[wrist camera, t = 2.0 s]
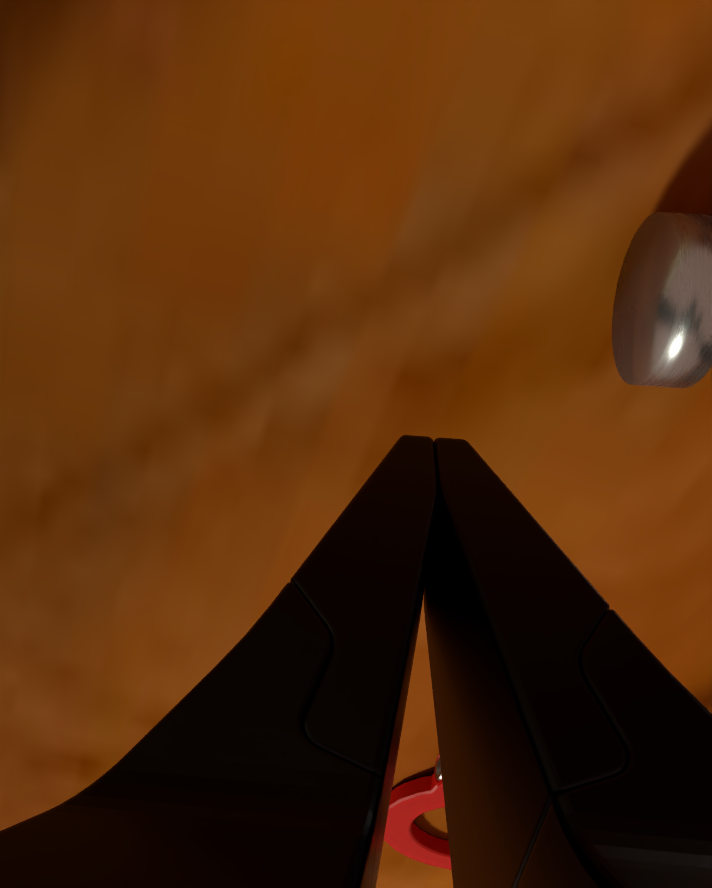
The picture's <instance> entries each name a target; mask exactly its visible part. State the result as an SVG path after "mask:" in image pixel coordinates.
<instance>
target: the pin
mask: <svg viewBox="0 0 712 888" xmlns="http://www.w3.org/2000/svg"><path fill="white" fill-rule="evenodd" d="M612 345H613V354H614V359H615V364H616V367H617V370H618V372H619V374H620V376H621V378H622V379H623V380H624V381H625V382H626V383H628V384H631V385H642V386H656V387H670V388H688V387H690V386H693V385H694V384H696V383H697V382H698V381H699V380H701V379H702V378H703V377H704V375H705V374H706V373H707V372H708V371H709V369H710V368H711V366H712V215H702V214H686V213H670V212H656V213H654V214H651V215H650V216H649V217H648V218H647V219H646V220H645V221H644V222H643V223H642V224H641V226H640V227H639V228H638V230H637V232H636V233H635V235H634V237H633V239H632V241H631V243H630V245H629V248H628V250H627V253H626V256H625V258H624V261H623V265H622V268H621V271H620V275H619V279H618V284H617V288H616V294H615V300H614V308H613V318H612Z"/></svg>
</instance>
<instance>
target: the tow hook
mask: <svg viewBox="0 0 712 888" xmlns="http://www.w3.org/2000/svg"><path fill="white" fill-rule="evenodd" d="M442 807H445V802H444V793H443V783H442V774H441V764H440V755H438V757H437V760H436V764H435V770H434V773H433V775H432V776H426V777H420V778H418V779H415V780H412V781H409V782H406V783H404V784H401V785H400V786H398V787H397V788H395V789H394V790H392V791H391V797H390V803H389V809H388V816H387V822H386V828H385V834H384V840H385V841H386V842H387V843H388V844H389V845H390V846H392V847H393V848H394V849H395V850H396V851H398V852H400V853H402V854H404V855H405V856H407V857H409V858H411V859H414V860H417V861H420V862H423V863H425V864H428V865H432V866H437V867H441V868H446V869H451V870H452V868H451V859H450V849H449V841H448V840H444V839H440V838H437V837H435V836H432V835H429V834H428V833H426V832H424V831H422V830H421V829H419V828H418V827H417V826H416V825H415V824H414V823H413V821H414V819H415V818H416V817H417V816H419V815H421V814H422V813H424V812H427V811H430V810H433V809H436V808H442Z"/></svg>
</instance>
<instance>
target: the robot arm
mask: <svg viewBox="0 0 712 888" xmlns="http://www.w3.org/2000/svg"><path fill="white" fill-rule="evenodd" d="M423 594H424V611H425V623H426V632H427V642H428V651H429V661H430V670H431V679H432V689H433V698H434V708H435V717H436V727H437V736H438V746H439V755H440V764H441V774H442V783H443V793H444V802H445V812H446V821H447V830H448V840H449V849H450V859H451V868H452V878H453V887H454V888H712V714H711V713H710V712H709V711H708V710H707V709H706V708H705V707H704V706H703V705H702V704H701V703H700V702H699V701H698V700H697V699H696V698H695V697H694V696H693V695H692V694H691V693H690V692H689V691H688V690H687V689H686V688H685V687H684V686H683V685H682V684H681V683H680V682H679V681H678V680H677V679H676V678H675V677H674V676H673V675H672V674H671V673H670V672H669V671H668V670H667V669H666V668H665V667H664V665H663V664H662V663H661V662H660V661H659V660H658V659H657V658H656V657H655V656H654V655H653V653H652V652H651V651H650V650H649V649H648V648H647V647H646V646H645V645H644V644H643V643H642V641H641V640H640V639H639V638H638V637H637V636H636V635H635V634H634V633H633V631H632V630H631V629H630V628H629V627H628V626H627V625H626V623H625V622H624V621H623V620H622V619H621V618H620V616H619V615H618V614H617V613H616V612H615V611H614V610H609V604H608V603H607V602H606V601H605V600H604V598H603V597H602V596H601V595H600V594H599V593H598V592H597V590H596V589H595V588H594V587H593V586H592V585H591V583H590V582H589V581H588V580H587V579H586V578H585V577H584V575H583V574H582V573H581V572H580V571H579V570H578V568H577V567H576V566H575V565H574V564H573V563H572V562H571V560H570V559H569V558H568V557H567V556H566V555H565V553H564V552H563V551H562V550H561V549H560V548H559V547H558V545H557V544H556V543H555V542H554V541H553V540H552V538H551V537H550V536H549V535H548V534H547V533H546V532H545V530H544V529H543V528H542V527H541V526H540V525H539V523H538V522H537V521H536V520H535V519H534V518H533V517H532V515H531V514H530V513H529V512H528V511H527V510H526V508H525V507H524V506H523V505H522V504H521V503H520V502H519V500H518V499H517V498H516V497H515V496H514V495H513V493H512V492H511V491H510V490H509V489H508V488H507V487H506V485H505V484H504V483H503V482H502V481H501V480H500V478H499V477H498V476H497V475H496V474H495V473H494V472H493V470H492V469H491V468H490V467H489V466H488V465H487V463H486V462H485V461H484V460H483V459H482V458H481V457H480V455H479V454H478V453H477V452H476V451H475V450H474V448H473V447H472V446H471V445H470V444H469V443H468V442H467V441H466V440H463V439H451V438H437V439H435V441H434V442H433V440H432V439H431V438H430V437H424V436H411V435H403V436H401V437H400V438H399V440H398V441H397V442H396V443H395V445H394V446H393V447H392V449H391V450H390V451H389V452H388V454H387V455H386V456H385V458H384V459H383V460H382V462H381V463H380V464H379V465H378V467H377V468H376V469H375V471H374V472H373V473H372V475H371V476H370V477H369V478H368V480H367V481H366V482H365V484H364V485H363V486H362V487H361V489H360V490H359V491H358V493H357V494H356V495H355V497H354V498H353V499H352V500H351V502H350V503H349V504H348V506H347V507H346V508H345V510H344V511H343V512H342V513H341V515H340V516H339V517H338V519H337V520H336V521H335V523H334V524H333V525H332V526H331V528H330V529H329V530H328V532H327V533H326V534H325V535H324V537H323V538H322V539H321V541H320V542H319V543H318V545H317V546H316V547H315V548H314V550H313V551H312V552H311V554H310V555H309V556H308V558H307V559H306V560H305V561H304V563H303V564H302V565H301V567H300V568H299V569H298V570H297V572H296V573H295V574H294V576H293V577H292V578H291V581H290V583H287V584H286V586H285V587H284V588H283V589H282V591H281V592H280V593H279V595H278V596H277V597H276V599H275V600H274V601H273V602H272V604H271V605H270V606H269V607H268V609H267V610H266V611H265V612H264V613H263V615H262V616H261V617H260V618H259V619H258V621H257V622H256V623H255V624H254V625H253V627H252V628H251V629H250V630H249V631H248V633H247V634H246V635H245V636H244V637H243V638H242V639H241V640H240V641H239V642H238V643H237V644H236V645H235V646H234V647H233V649H232V650H231V651H230V652H229V653H228V654H227V655H226V656H225V657H224V658H223V659H222V660H221V661H220V662H219V663H218V664H217V665H216V666H215V667H214V668H213V669H212V670H211V671H210V672H209V673H208V674H207V675H206V676H205V677H204V678H203V679H202V680H201V681H200V682H199V683H198V684H197V685H196V686H195V687H194V688H193V689H192V690H191V691H190V692H189V693H188V694H187V695H186V696H185V697H184V698H183V699H182V700H181V701H180V702H179V703H178V704H177V705H176V706H175V707H174V708H173V709H172V710H171V711H170V712H169V713H168V714H167V715H166V716H165V717H164V718H163V719H162V720H161V721H160V722H159V723H158V724H157V725H155V726H154V727H153V728H152V729H151V730H150V731H149V732H148V733H147V734H146V735H145V736H144V737H143V738H142V739H141V740H140V741H139V742H138V743H137V744H136V745H135V746H134V747H133V748H132V749H131V750H130V751H129V752H128V753H127V754H126V755H125V756H124V757H123V758H122V759H121V760H120V761H119V762H118V763H117V764H115V765H114V766H113V767H112V768H111V769H110V770H109V771H107V772H106V773H105V774H104V775H103V776H101V777H100V778H99V779H98V780H96V781H95V782H94V783H92V784H91V785H90V786H88V787H87V788H85V789H84V790H82V791H81V792H80V793H78V794H77V795H75V796H74V797H72V798H70V799H69V800H67V801H65V802H64V803H62V804H60V805H58V806H56V807H54V808H52V809H50V810H48V811H46V812H43V813H41V814H39V815H37V816H34V817H32V818H30V819H27V820H25V821H23V822H20V823H18V824H16V825H13V826H11V827H9V828H7V829H4V830H2V831H0V888H376V882H377V876H378V870H379V864H380V858H381V852H382V846H383V840H384V834H385V828H386V822H387V816H388V809H389V803H390V797H391V791H392V785H393V779H394V773H395V767H396V761H397V755H398V749H399V743H400V737H401V731H402V725H403V719H404V713H405V707H406V701H407V695H408V688H409V682H410V676H411V670H412V664H413V658H414V652H415V646H416V640H417V634H418V628H419V622H420V615H421V608H422V601H423Z"/></svg>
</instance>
